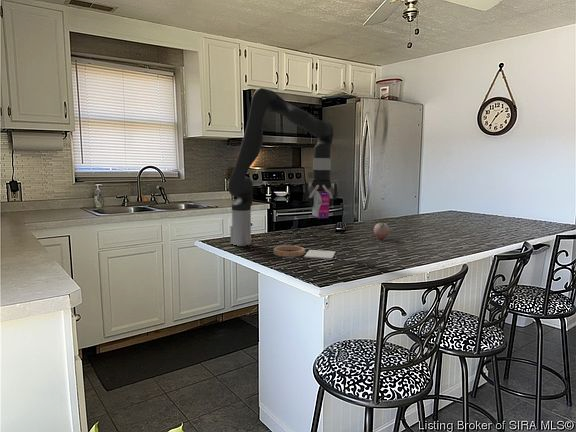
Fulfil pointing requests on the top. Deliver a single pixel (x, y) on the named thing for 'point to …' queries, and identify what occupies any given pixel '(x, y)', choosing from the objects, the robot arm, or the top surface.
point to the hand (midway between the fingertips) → (320, 206)
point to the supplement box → (321, 204)
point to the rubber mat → (320, 254)
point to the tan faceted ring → (281, 252)
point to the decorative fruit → (381, 230)
